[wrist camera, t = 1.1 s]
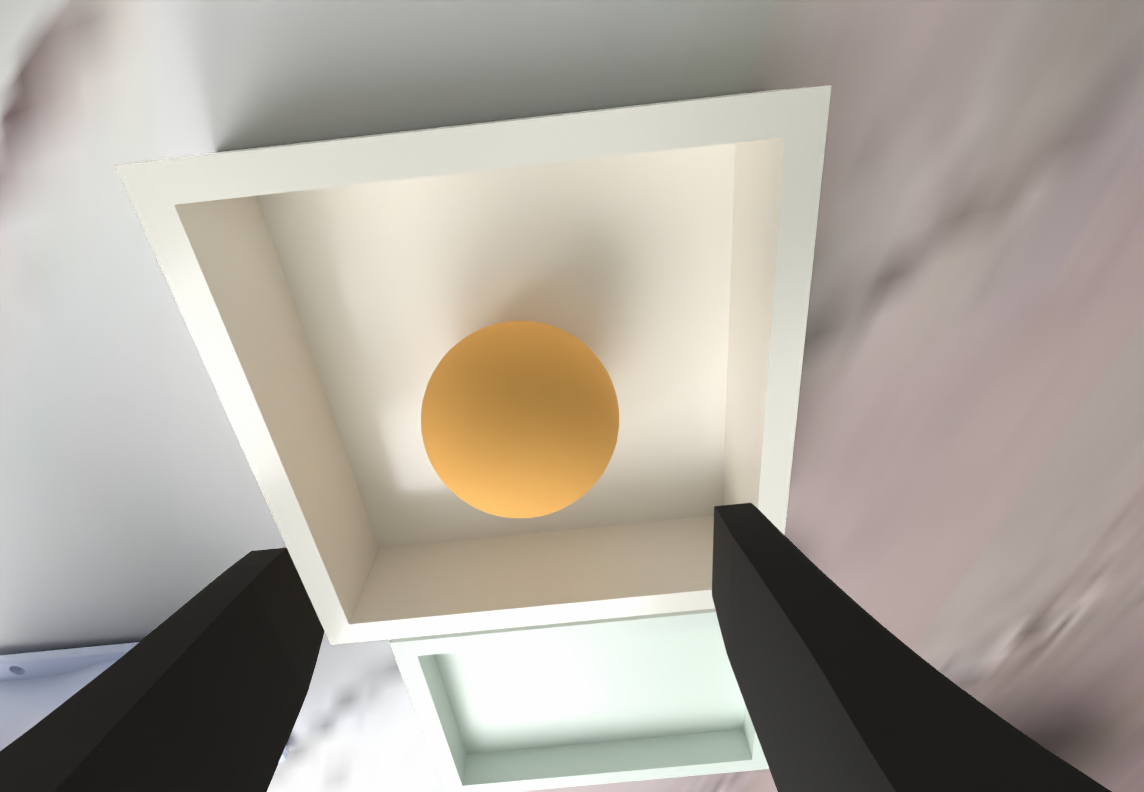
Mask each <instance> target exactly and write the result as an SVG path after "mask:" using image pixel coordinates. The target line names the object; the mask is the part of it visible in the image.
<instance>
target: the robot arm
mask: <svg viewBox="0 0 1144 792" xmlns="http://www.w3.org/2000/svg"><path fill="white" fill-rule="evenodd" d="M712 598H713V602H714V606H715V610H716V614H717V618H718V622H719V626H720V630H721V634H722V638H723V641H724V645H725V649H726V653H727V656H728V659H729V661H730V664H731V667H732V670H733V672H734V675H735V678H736V681H737V683H738V686H739V689H740V691H741V694H742V697H743V699H744V702H745V705H746V708H747V710H748V713H749V716H750V718H751V721H752V724H753V726H754V729H755V732H756V734H757V737H758V740H759V742H760V745H761V748H762V750H763V753H764V756H765V758H766V761H767V764H768V766H769V769H770V772H771V774H772V777H773V780H774V782H775V785H776V788H777V790H778V792H1111V791H1110V790H1108V789H1107V788H1105V787H1104V786H1102V785H1101V784H1099V783H1098V782H1096V781H1094V780H1093V779H1091V778H1090V777H1088V776H1087V775H1085V774H1084V773H1082V772H1081V771H1079V770H1078V769H1076V768H1074V767H1073V766H1071V765H1070V764H1068V763H1067V762H1065V761H1064V760H1062V759H1061V758H1059V757H1058V756H1056V755H1054V754H1053V753H1051V752H1050V751H1048V750H1047V749H1045V748H1044V747H1042V746H1041V745H1039V744H1038V743H1037V742H1035V741H1034V740H1032V739H1031V738H1029V737H1028V736H1026V735H1025V734H1023V733H1022V732H1021V731H1019V730H1018V729H1016V728H1015V727H1013V726H1012V725H1010V724H1009V723H1008V722H1006V721H1005V720H1003V719H1002V718H1001V717H999V716H998V715H997V714H995V713H994V712H992V711H991V710H990V709H988V708H987V707H986V706H984V705H983V704H982V703H980V702H979V701H977V700H976V699H975V698H973V697H972V696H971V695H969V694H968V693H967V692H965V691H964V690H962V689H961V688H960V687H958V686H957V685H956V684H954V683H953V682H952V681H950V680H949V679H948V678H947V677H945V676H944V675H943V674H941V673H940V672H939V671H938V670H936V669H935V668H934V667H932V666H931V665H930V664H929V663H927V662H926V661H925V660H924V659H922V658H921V657H920V656H919V655H917V654H916V653H915V652H914V651H912V650H911V649H910V648H909V647H908V646H906V645H905V644H904V643H903V642H902V641H900V640H899V639H898V638H897V637H896V636H894V635H893V634H892V633H891V632H889V631H888V630H887V629H886V628H885V627H883V626H882V625H881V624H880V623H879V622H878V621H876V620H875V619H874V618H873V617H872V616H871V615H870V614H868V613H867V612H866V611H865V610H864V609H863V608H861V607H860V606H859V605H858V604H857V603H856V602H855V601H854V600H853V599H851V598H850V597H849V596H848V595H847V594H846V593H845V592H844V591H843V590H842V589H840V588H839V587H838V586H837V585H836V584H835V583H834V582H833V581H832V580H831V579H829V578H828V577H827V576H826V575H825V574H824V573H823V572H822V571H821V570H820V569H819V568H818V567H817V566H815V565H814V564H813V563H812V562H811V561H810V560H809V559H808V558H807V557H806V556H805V555H804V554H803V553H802V552H801V551H800V550H799V549H798V548H797V547H796V546H795V545H794V544H793V543H792V542H791V541H790V540H789V539H788V538H787V537H786V536H785V535H784V534H783V533H782V532H781V531H780V530H779V529H778V528H777V527H776V526H775V525H774V524H773V523H772V522H771V521H770V520H769V519H768V518H767V517H766V516H765V515H764V514H763V513H762V512H761V511H760V510H759V509H758V508H757V507H756V506H754V505H753V504H752V503H743V504H732V505H722V506H714V528H713V565H712ZM323 634H324V629H323V627H322V624H321V622H320V620H319V618H318V616H317V613H316V611H315V609H314V607H313V605H312V602H311V600H310V598H309V596H308V594H307V591H306V589H305V587H304V585H303V582H302V580H301V578H300V576H299V574H298V571H297V569H296V567H295V565H294V563H293V560H292V558H291V556H290V554H289V552H288V549H287V548H279V549H269V550H258V551H251V552H250V553H248V554H247V555H246V556H244V557H243V558H242V559H240V560H239V561H238V562H236V563H235V564H234V565H232V566H231V567H230V568H229V569H227V570H226V571H225V572H224V573H222V574H221V575H220V576H219V577H217V578H216V579H215V580H214V581H213V582H211V583H210V584H209V585H208V586H206V587H205V588H204V589H203V590H202V591H200V592H199V593H198V594H197V595H196V596H194V597H193V598H192V599H191V600H190V601H188V602H187V603H186V604H185V605H184V606H182V607H181V608H180V609H179V610H178V611H177V612H175V613H174V614H173V615H172V616H170V617H169V618H168V619H167V620H166V621H164V622H163V623H162V624H161V625H160V626H158V627H157V628H156V629H155V630H154V631H152V632H151V633H150V634H149V635H148V636H146V637H145V638H144V639H143V640H141V641H140V642H134V643H124V644H114V645H103V646H93V647H82V648H72V649H61V650H51V651H41V652H30V653H20V654H9V655H0V792H266V791H267V789H268V787H269V784H270V782H271V780H272V777H273V775H274V772H275V770H276V768H277V765H278V764H279V763H282V762H284V761H285V760H286V758H287V755H288V753H289V749H288V747H287V745H286V744H287V741H288V739H289V737H290V734H291V732H292V729H293V727H294V724H295V722H296V719H297V717H298V715H299V712H300V710H301V707H302V705H303V702H304V700H305V697H306V695H307V692H308V688H309V685H310V682H311V678H312V675H313V672H314V668H315V665H316V661H317V657H318V654H319V650H320V646H321V642H322V638H323Z"/></svg>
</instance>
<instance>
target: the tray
mask: <svg viewBox="0 0 1144 792" xmlns="http://www.w3.org/2000/svg"><path fill="white" fill-rule="evenodd" d="M390 646H391V649H392V651H393V654H394V657H395V659H396V662H397V665H398V667H399V670H400V673H401V675H402V678H403V681H404V683H405V686H406V689H407V691H408V694H409V697H410V699H411V702H412V705H413V707H414V710H415V713H416V715H417V718H418V721H419V723H420V726H421V728H422V731H423V734H424V736H425V739H426V742H427V744H428V747H429V750H430V752H431V755H432V758H433V760H434V763H435V766H436V768H437V771H438V774H439V776H440V779H441V782H442V784H443V787H444V790H445V792H517V791H528V790H539V789H550V788H562V787H573V786H584V785H595V784H606V783H617V782H628V781H640V780H651V779H662V778H673V777H684V776H695V775H706V774H717V773H729V772H740V771H751V770H762V769H769V766H768V764H767V761H766V758H765V756H764V753H763V750H762V748H761V745H760V742H759V740H758V737H757V734H756V732H755V729H754V726H753V724H752V721H751V718H750V716H749V713H748V710H747V708H746V705H745V702H744V699H743V697H742V694H741V691H740V689H739V686H738V683H737V681H736V678H735V675H734V672H733V670H732V667H731V664H730V661H729V659H728V656H727V653H726V649H725V645H724V641H723V638H722V634H721V630H720V626H719V622H718V618H717V614H716V610H715V608H714V609H703V610H693V611H682V612H672V613H661V614H651V615H640V616H630V617H619V618H609V619H598V620H588V621H577V622H567V623H556V624H546V625H535V626H525V627H514V628H504V629H493V630H483V631H472V632H462V633H451V634H441V635H430V636H420V637H409V638H399V639H390Z"/></svg>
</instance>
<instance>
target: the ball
mask: <svg viewBox="0 0 1144 792" xmlns="http://www.w3.org/2000/svg"><path fill="white" fill-rule="evenodd" d="M618 431H619V407H618V400H617V395H616V392H615V389H614V386H613V383H612V381H611V378H610V376H609V374H608V372H607V370H606V369H605V367H604V366H603V364H602V363H601V361H600V360H599V359H598V357H597V356H596V355H595V354H594V353H593V352H592V351H591V349H590V348H589V347H587V346H586V345H585V344H584V343H583V342H582V341H580V340H579V339H577V338H576V337H574V336H573V335H571V334H570V333H568V332H565V331H563V330H561V329H559V328H557V327H554V326H551V325H548V324H544V323H540V322H535V321H508V322H502V323H496V324H493V325H490V326H487V327H484V328H481V329H479V330H477V331H475V332H473V333H471V334H470V335H468V336H466V337H465V338H463V339H462V340H461V341H460V342H458V343H457V344H456V345H455V346H454V347H452V348H451V349H450V350H449V351H448V352H447V353H446V355H445V356H444V357H443V358H442V359H441V361H440V362H439V364H438V365H437V367H436V368H435V370H434V372H433V373H432V375H431V377H430V380H429V382H428V384H427V387H426V391H425V394H424V398H423V401H422V409H421V432H422V437H423V442H424V446H425V450H426V453H427V455H428V458H429V460H430V462H431V464H432V466H433V468H434V470H435V471H436V473H437V475H438V476H439V477H440V479H441V480H442V482H443V483H444V484H445V485H446V486H447V487H448V488H449V489H450V490H451V491H452V492H453V493H454V494H455V495H457V496H458V497H459V498H460V499H461V500H463V501H464V502H466V503H467V504H469V505H471V506H472V507H474V508H476V509H478V510H481V511H483V512H486V513H489V514H492V515H496V516H500V517H507V518H533V517H540V516H544V515H547V514H551V513H554V512H556V511H559V510H561V509H563V508H565V507H567V506H569V505H570V504H572V503H574V502H575V501H577V500H578V499H580V498H581V497H582V496H583V495H584V494H586V493H587V492H588V491H589V490H590V489H591V488H592V487H593V486H594V484H595V483H596V482H597V481H598V480H599V479H600V477H601V476H602V474H603V473H604V471H605V470H606V468H607V466H608V464H609V462H610V460H611V457H612V455H613V453H614V450H615V446H616V443H617V437H618Z"/></svg>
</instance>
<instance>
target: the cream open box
mask: <svg viewBox="0 0 1144 792" xmlns="http://www.w3.org/2000/svg"><path fill="white" fill-rule="evenodd" d="M831 86H832V85H828V86H816V87H804V88H792V89H780V90H768V91H758V92H749V93H741V94H732V95H723V96H714V97H705V98H696V99H687V100H678V101H669V102H660V103H651V104H642V105H633V106H625V107H616V108H607V109H598V110H589V111H580V112H571V113H562V114H553V115H544V116H535V117H526V118H518V119H509V120H500V121H491V122H482V123H473V124H464V125H455V126H446V127H437V128H428V129H419V130H410V131H402V132H393V133H384V134H375V135H366V136H357V137H348V138H339V139H330V140H321V141H312V142H303V143H294V144H286V145H277V146H268V147H259V148H250V149H241V150H232V151H223V152H214V153H207V154H199V155H191V156H184V157H176V158H168V159H161V160H153V161H145V162H138V163H130V164H122V165H115V168H116V170H117V172H118V174H119V177H120V179H121V181H122V183H123V185H124V188H125V190H126V192H127V194H128V197H129V199H130V201H131V203H132V205H133V208H134V210H135V212H136V214H137V217H138V219H139V221H140V223H141V225H142V228H143V230H144V232H145V234H146V236H147V239H148V241H149V243H150V245H151V248H152V250H153V252H154V254H155V256H156V259H157V261H158V263H159V265H160V268H161V270H162V272H163V274H164V276H165V279H166V281H167V283H168V285H169V288H170V290H171V292H172V294H173V296H174V299H175V301H176V303H177V305H178V307H179V310H180V312H181V314H182V316H183V319H184V321H185V323H186V325H187V327H188V330H189V332H190V334H191V336H192V339H193V341H194V343H195V345H196V347H197V350H198V352H199V354H200V356H201V359H202V361H203V363H204V365H205V367H206V370H207V372H208V374H209V376H210V379H211V381H212V383H213V385H214V387H215V390H216V392H217V394H218V396H219V398H220V401H221V403H222V405H223V407H224V410H225V412H226V414H227V416H228V418H229V421H230V423H231V425H232V427H233V430H234V432H235V434H236V436H237V438H238V441H239V443H240V445H241V447H242V450H243V452H244V454H245V456H246V458H247V461H248V463H249V465H250V467H251V470H252V472H253V474H254V476H255V478H256V481H257V483H258V485H259V487H260V489H261V492H262V494H263V496H264V498H265V501H266V503H267V505H268V507H269V509H270V512H271V514H272V516H273V518H274V521H275V523H276V525H277V527H278V529H279V532H280V534H281V536H282V538H283V541H284V543H285V545H286V547H287V549H288V552H289V554H290V556H291V558H292V560H293V563H294V565H295V567H296V569H297V571H298V574H299V576H300V578H301V580H302V582H303V585H304V587H305V589H306V591H307V594H308V596H309V598H310V600H311V602H312V605H313V607H314V609H315V611H316V613H317V616H318V618H319V620H320V622H321V624H322V627H323V629H324V632H325V634H326V636H327V638H328V640H329V643H330V645H336V644H346V643H357V642H367V641H378V640H388V639H399V638H409V637H420V636H430V635H441V634H451V633H462V632H472V631H483V630H493V629H504V628H514V627H525V626H535V625H546V624H556V623H567V622H577V621H588V620H598V619H609V618H619V617H630V616H640V615H651V614H661V613H672V612H682V611H693V610H703V609H714V608H715V606H714V602H713V598H712V565H713V528H714V506H722V505H732V504H743V503H752V504H753V505H754V506H756V507H757V508H758V509H759V510H760V511H761V512H762V513H763V514H764V515H765V516H766V517H767V518H768V519H769V520H770V521H771V522H772V523H773V524H774V525H775V526H776V527H777V528H778V529H779V530H780V531H781V532H782V533H783V534H785V525H786V515H787V506H788V496H789V487H790V477H791V468H792V458H793V448H794V439H795V429H796V420H797V410H798V401H799V391H800V382H801V372H802V363H803V353H804V344H805V334H806V325H807V315H808V305H809V296H810V286H811V277H812V267H813V258H814V248H815V239H816V229H817V220H818V210H819V201H820V191H821V181H822V172H823V162H824V153H825V143H826V134H827V124H828V115H829V105H830V96H831ZM508 321H535V322H540V323H544V324H548V325H551V326H554V327H557V328H559V329H561V330H563V331H565V332H568V333H570V334H571V335H573V336H574V337H576V338H577V339H579V340H580V341H582V342H583V343H584V344H585V345H586V346H587V347H589V348H590V349H591V351H592V352H593V353H594V354H595V355H596V356H597V357H598V359H599V360H600V361H601V363H602V364H603V366H604V367H605V369H606V370H607V372H608V374H609V376H610V378H611V381H612V383H613V386H614V389H615V392H616V395H617V400H618V407H619V431H618V437H617V443H616V446H615V450H614V453H613V455H612V457H611V460H610V462H609V464H608V466H607V468H606V470H605V471H604V473H603V474H602V476H601V477H600V479H599V480H598V481H597V482H596V483H595V484H594V486H593V487H592V488H591V489H590V490H589V491H588V492H587V493H586V494H584V495H583V496H582V497H581V498H580V499H578V500H577V501H575V502H574V503H572V504H570V505H569V506H567V507H565V508H563V509H561V510H559V511H556V512H554V513H551V514H547V515H544V516H540V517H533V518H507V517H500V516H496V515H492V514H489V513H486V512H483V511H481V510H478V509H476V508H474V507H472V506H471V505H469V504H467V503H466V502H464V501H463V500H461V499H460V498H459V497H458V496H457V495H455V494H454V493H453V492H452V491H451V490H450V489H449V488H448V487H447V486H446V485H445V484H444V483H443V482H442V480H441V479H440V477H439V476H438V475H437V473H436V471H435V470H434V468H433V466H432V464H431V462H430V460H429V458H428V455H427V453H426V450H425V446H424V442H423V437H422V432H421V409H422V401H423V398H424V394H425V391H426V387H427V384H428V382H429V380H430V377H431V375H432V373H433V372H434V370H435V368H436V367H437V365H438V364H439V362H440V361H441V359H442V358H443V357H444V356H445V355H446V353H447V352H448V351H449V350H450V349H451V348H452V347H454V346H455V345H456V344H457V343H458V342H460V341H461V340H462V339H463V338H465V337H466V336H468V335H470V334H471V333H473V332H475V331H477V330H479V329H481V328H484V327H487V326H490V325H493V324H496V323H502V322H508Z"/></svg>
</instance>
